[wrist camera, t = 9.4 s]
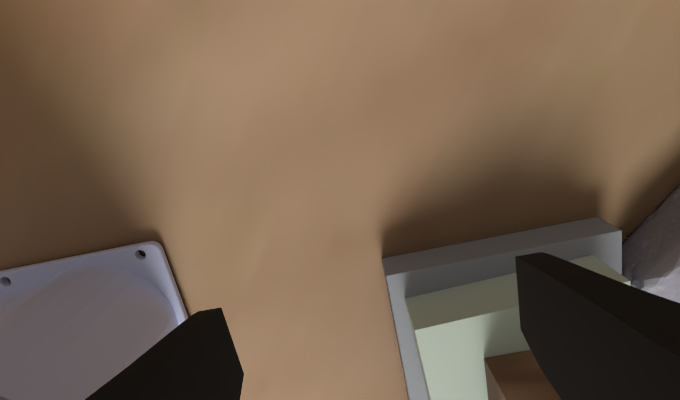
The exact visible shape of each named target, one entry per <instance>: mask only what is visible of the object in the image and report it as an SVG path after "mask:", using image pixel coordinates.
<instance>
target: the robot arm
mask: <svg viewBox="0 0 680 400" xmlns="http://www.w3.org/2000/svg"><path fill="white" fill-rule="evenodd" d="M139 250H142V251H144V252H145V254H146V256H142V255H140V253H139ZM515 262H516V275H517V288H518V301H519V315H520V328H521V331H522V333H523V335H524V337H525V339H526V341H527V343H528V345H529V347H530V350H531V351H532V353H533V355H534V357H535V359H536V361H537V363H538V365H539V367H540V368H541V370H542V371H543V373H544V374H545V376H546V378H547V379H548V380H549V382H550V383H551V385H552V386H553V388H554V389H555V391H556V392H557V394H558V395H559V397H560V398H561V400H680V303H678V302H675V301H672V300H669V299H666V298H663V297H660V296H657V295H654V294H652V293H649V292H646V291H643V290H641V289H638V288H635V287H632V286H630V285H627V284H625V283H622V282H619V281H617V280H614V279H612V278H609V277H607V276H604V275H601V274H599V273H596V272H594V271H591V270H589V269H586V268H584V267H581V266H579V265H576V264H574V263H571V262H569V261H566V260H564V259H561V258H559V257H556V256H553V255H550V254H547V253H544V252H538V253H533V254H527V255H521V256H515ZM6 277H7V278H9V279H10V281H11V282H9V281H8V280H7V279H6ZM243 376H244V373H243V370H242V367H241V364H240V361H239V358H238V356H237V353H236V350H235V347H234V344H233V341H232V338H231V335H230V332H229V329H228V326H227V323H226V320H225V317H224V314H223V312H222V309H221V308H216V309H210V310H205V311H199V312H197V313H195V314H193V315H192V316H190V317H189V318H188V315H187V312H186V310H185V307H184V304H183V302H182V299H181V296H180V293H179V291H178V288H177V285H176V282H175V280H174V277H173V274H172V272H171V269H170V266H169V263H168V261H167V258H166V255H165V252H164V250H163V247H162V246H161V245H160V244H159V243H158V242H155V241H147V242H142V243H137V244H132V245H127V246H122V247H117V248H112V249H107V250H102V251H97V252H92V253H87V254H82V255H77V256H72V257H67V258H62V259H57V260H52V261H47V262H42V263H37V264H32V265H27V266H22V267H17V268H12V269H7V270H2V271H0V400H240V395H241V388H242V382H243Z"/></svg>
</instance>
